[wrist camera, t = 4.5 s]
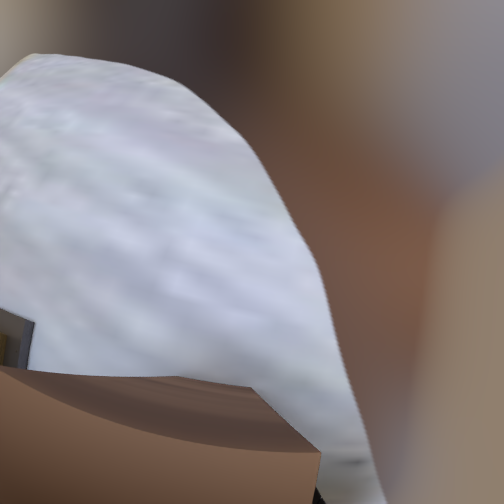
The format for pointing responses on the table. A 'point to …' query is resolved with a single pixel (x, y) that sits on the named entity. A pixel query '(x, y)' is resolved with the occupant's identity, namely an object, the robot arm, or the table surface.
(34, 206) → the table surface
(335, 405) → the table surface
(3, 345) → the gold square frame
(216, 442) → the rail post
